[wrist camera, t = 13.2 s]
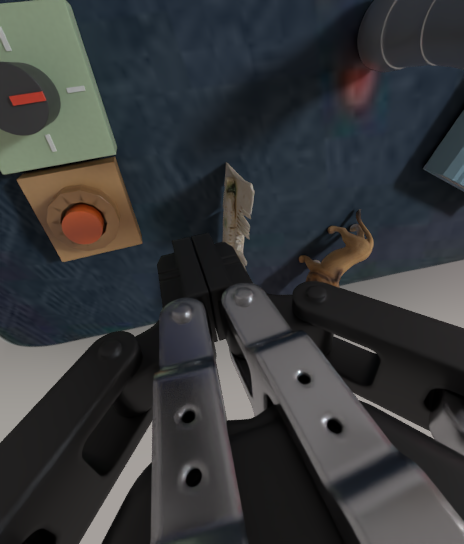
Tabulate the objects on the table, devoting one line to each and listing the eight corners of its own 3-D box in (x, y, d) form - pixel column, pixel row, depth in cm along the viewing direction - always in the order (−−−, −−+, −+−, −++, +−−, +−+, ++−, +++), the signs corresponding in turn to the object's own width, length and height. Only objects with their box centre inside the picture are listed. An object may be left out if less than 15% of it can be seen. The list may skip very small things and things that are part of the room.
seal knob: (16, 130, 24) (-6, 141, 21) (-17, 66, 22) (-48, 66, 18) (70, 121, 25) (59, 130, 21) (44, 58, 22) (27, 56, 19)
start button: (58, 208, 28) (54, 215, 27) (96, 200, 29) (94, 207, 27) (74, 240, 30) (71, 248, 29) (109, 232, 31) (108, 239, 30)
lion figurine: (303, 286, 49) (332, 323, 42) (282, 275, 46) (309, 313, 39) (366, 215, 44) (411, 243, 37) (346, 198, 41) (391, 225, 34)
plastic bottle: (414, -3, 30) (732, -80, 14) (386, 76, 33) (613, 85, 18) (362, -19, 28) (664, -129, 12) (339, 67, 31) (547, 68, 16)
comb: (214, 160, 33) (239, 188, 25) (234, 159, 34) (265, 187, 26) (213, 266, 42) (233, 313, 34) (230, 264, 42) (252, 309, 34)
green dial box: (-69, 18, 22) (-95, 11, 19) (70, 4, 23) (63, -3, 21) (13, 166, 28) (1, 175, 26) (117, 147, 30) (116, 155, 27)
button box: (23, 173, 29) (9, 185, 26) (115, 156, 30) (113, 166, 27) (65, 252, 35) (59, 271, 31) (141, 235, 36) (142, 251, 33)
